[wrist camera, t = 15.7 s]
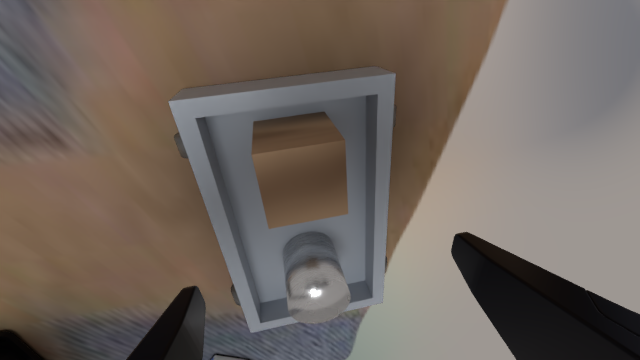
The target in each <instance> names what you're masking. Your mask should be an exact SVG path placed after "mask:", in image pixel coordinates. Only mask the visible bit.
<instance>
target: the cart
mask: <svg viewBox="0 0 640 360" xmlns="http://www.w3.org/2000/svg"><path fill="white" fill-rule="evenodd" d="M395 76H396V73H393V72H391V71H388V70H385V69H383V68H380V67H377V66H372V67H363V68H355V69H346V70H338V71H329V72H321V73H313V74H304V75H296V76H287V77H279V78H271V79H262V80H254V81H245V82H237V83H228V84H220V85H212V86H203V87H195V88H186V89H182V90H181V91H179V92H178V93H177V94H176V95H175V96H174V97H173V98H172V99H170V100H169V101H168V102H169V105H170V108H171V111H172V113H173V116H174V119H175V122H176V125H177V127H178V130H179V132H178V133H177V134H175V135H174V139H175V141H176V144H177V147H178V150H179V152H180V155H181V157H183V158H189V161H190V164H191V167H192V169H193V172H194V175H195V178H196V181H197V183H198V186H199V189H200V192H201V195H202V197H203V200H204V203H205V206H206V209H207V211H208V214H209V217H210V220H211V223H212V225H213V228H214V231H215V234H216V237H217V239H218V242H219V245H220V248H221V251H222V253H223V256H224V259H225V262H226V265H227V267H228V270H229V273H230V276H231V279H232V281H233V285H232V287H231V292H232V295H233V298H234V300H235V303H236V304H238V305H240V306H241V307H242V309H243V312H244V315H245V318H246V321H247V323H248V326H249V329H250V332H251V333H253V332H257V331H262V330H266V329H270V328H275V327H279V326H284V325H288V324H292V323H297V322H299V321H297V320H295V319H294V318H292V317H291V316H290V314H289V312H288V305H287V295H286V285H285V276H284V266H283V256H282V253H283V249H284V246H285V245H286V243H287V242H288V241H289V240H290V239H291V238H293V237H294V236H296V235H298V234H301V233H304V232H310V231H314V232H320V233H323V234H326V235H327V236H328V237H330V239H331V240H332V241H333V244H334V247H335V250H336V253H337V256H338V259H339V262H340V265H341V268H342V271H343V274H344V276H345V279H346V282H347V285H348V288H349V291H350V295H351V299H350V303H349V305H348V307H347V308H346V309H345V310H344V311H343V312H345V311H349V310H353V309H358V308H362V307H366V306H371V305H375V304H379V303H383V290H384V274H385V273H386V270H387V257H386V256H385V255H386V237H387V220H388V202H389V184H390V166H391V148H392V130H393V127H394V126H395V122H396V105H394V94H395ZM317 112H325V113H326V114H327V116H328V117H329V118H330V120H331V121H332V123H333V124H334V125H335V127H336V128H337V129H338V131H339V132H340V133H341V135H342V136H343V138H344V139H345V145H346V169H347V193H348V214H346V215H341V216H335V217H330V218H325V219H320V220H314V221H309V222H304V223H298V224H293V225H288V226H283V227H277V228H272V229H269V228H268V224H267V220H266V215H265V211H264V207H263V202H262V198H261V194H260V190H259V185H258V181H257V177H256V172H255V168H254V164H253V159H252V155H251V153H252V134H253V121H260V120H267V119H274V118H281V117H289V116H296V115H303V114H310V113H317Z"/></svg>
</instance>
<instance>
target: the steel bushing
mask: <svg viewBox="0 0 640 360" xmlns="http://www.w3.org/2000/svg"><path fill="white" fill-rule="evenodd" d="M282 256H283V266H284V276H285V285H286V295H287V305H288V312H289V314H290V316H291V317H292V318H294V319H295V320H297V321H299V322H302V323H307V324H316V323H322V322H326V321H329V320H331V319H333V318H335V317H337V316H338V315H340V314H341V313H342V312H343V311H344V310H345V309H346V308H347V307H348V305H349V303H350V299H351V295H350V291H349V288H348V285H347V282H346V279H345V276H344V274H343V271H342V268H341V265H340V262H339V259H338V256H337V253H336V250H335V247H334V244H333V241H332V240H331V239H330V237H328V236H327V235H326V234H323V233H320V232H314V231H310V232H304V233H301V234H298V235H296V236H294V237H293V238H291V239H290V240H289V241H288V242H287V243H286V245H285V246H284V249H283V253H282Z"/></svg>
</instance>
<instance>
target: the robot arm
mask: <svg viewBox="0 0 640 360" xmlns="http://www.w3.org/2000/svg"><path fill="white" fill-rule="evenodd" d="M451 253H452V256H453V259H454V260H455V262H456V264H457V266H458V268H459V270H460V271H461V273H462V275H463V277H464V279H465V281H466V283H467V284H468V286H469V288H470V290H471V292H472V294H473V295H474V297H475V298H476V300H477V301H478V303H479V305H480V306H481V307H482V309H483V310H484V312H485V313H486V315H487V316H488V318H489V319H490V321H491V322H492V324H493V325H494V327H495V328H496V330H497V331H498V333H499V334H500V336H501V337H502V339H503V340H504V342H505V343H506V344H507V346H508V348H509V349H510V351H511V352H512V354H513V355H514V357H515V358H516V360H640V314H638V313H636V312H633V311H631V310H629V309H626V308H624V307H622V306H620V305H618V304H616V303H613V302H611V301H609V300H607V299H605V298H603V297H601V296H599V295H597V294H595V293H592V292H590V291H588V290H585V289H584V288H582V287H580V286H578V285H576V284H574V283H572V282H570V281H568V280H566V279H563V278H561V277H559V276H557V275H555V274H553V273H551V272H549V271H547V270H545V269H543V268H541V267H539V266H537V265H534V264H532V263H530V262H528V261H526V260H524V259H522V258H520V257H518V256H516V255H514V254H512V253H510V252H508V251H506V250H504V249H501V248H499V247H497V246H495V245H493V244H491V243H489V242H487V241H485V240H483V239H481V238H479V237H477V236H475V235H472V234H470V233H468V232H463V233H458V234H456V235H455V236H454V240H453V245H452V249H451ZM205 309H206V307H205V301H204V299H203V297H202V294H201V292H200V290H199V288H198V287H197V286H191V287H186V288H183V289H182V290H181V291H180V293H179V294H178V295H177V296H176V298H175V299H174V300H173V301H172V303H171V304H170V305H169V306H168V308H167V309H166V310H165V311H164V313H163V314H162V315H161V317H160V318H159V319H158V320H157V322H156V323H155V324H154V325H153V327H152V328H151V329H150V330H149V332H148V333H147V334H146V335H145V337H144V338H143V339H142V340H141V342H140V343H139V344H138V345H137V347H136V348H135V349H134V350H133V352H132V353H131V354H130V355H129V357H128V358H127V359H126V360H202V357H203V344H204V326H205ZM0 360H42V359H41V358H40V357H39V356H37V355H36V354H35V353H34V352H33V351H32V350H31V349H30V348H29V347H27V346H26V345H25V344H24V343H23V342H22V341H21V340H20V339H19V338H17V337H16V336H15V335H14V334H13V333H11V332H6V331H5V332H0Z"/></svg>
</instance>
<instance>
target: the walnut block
mask: <svg viewBox="0 0 640 360" xmlns="http://www.w3.org/2000/svg"><path fill="white" fill-rule="evenodd" d="M251 155H252V159H253V164H254V168H255V172H256V177H257V181H258V185H259V190H260V194H261V198H262V202H263V207H264V211H265V215H266V220H267V224H268V228H269V229H272V228H277V227H283V226H288V225H293V224H298V223H304V222H309V221H314V220H320V219H325V218H330V217H335V216H341V215H346V214H348V193H347V169H346V145H345V139H344V138H343V136H342V135H341V133H340V132H339V131H338V129H337V128H336V127H335V125H334V124H333V123H332V121H331V120H330V118H329V117H328V116H327V114H326V113H325V112H317V113H310V114H303V115H296V116H289V117H281V118H274V119H267V120H260V121H253V134H252V153H251Z"/></svg>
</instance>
